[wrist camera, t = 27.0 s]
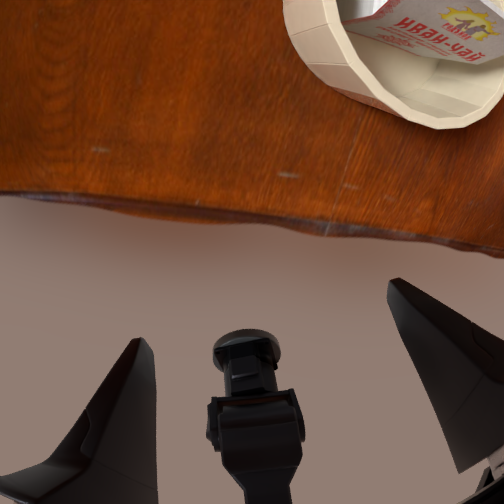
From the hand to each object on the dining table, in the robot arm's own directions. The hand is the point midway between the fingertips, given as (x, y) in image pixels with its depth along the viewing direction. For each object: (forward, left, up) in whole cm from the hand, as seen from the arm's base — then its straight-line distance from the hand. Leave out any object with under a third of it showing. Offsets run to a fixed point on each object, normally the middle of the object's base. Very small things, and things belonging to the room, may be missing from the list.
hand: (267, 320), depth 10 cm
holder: (+10, -11, -12) cm, 19 cm away
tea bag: (+10, -11, -12) cm, 19 cm away
